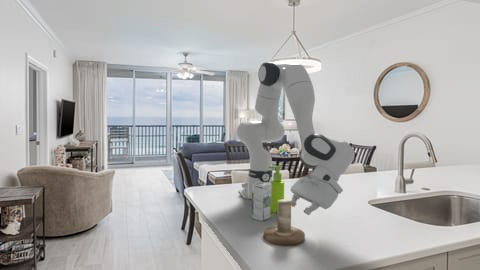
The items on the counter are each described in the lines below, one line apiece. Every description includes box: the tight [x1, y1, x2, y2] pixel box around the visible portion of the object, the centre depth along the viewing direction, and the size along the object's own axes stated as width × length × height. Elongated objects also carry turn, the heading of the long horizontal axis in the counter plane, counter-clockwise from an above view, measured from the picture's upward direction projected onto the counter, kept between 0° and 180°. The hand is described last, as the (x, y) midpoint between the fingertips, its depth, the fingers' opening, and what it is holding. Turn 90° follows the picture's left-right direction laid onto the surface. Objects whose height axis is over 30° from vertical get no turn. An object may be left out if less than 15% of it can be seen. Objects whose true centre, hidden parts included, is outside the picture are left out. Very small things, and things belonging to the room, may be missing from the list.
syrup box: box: [251, 182, 272, 222], centre depth 122 cm, size 6×6×14 cm
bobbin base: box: [263, 225, 306, 247], centre depth 104 cm, size 14×14×2 cm
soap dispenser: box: [269, 165, 285, 214], centre depth 131 cm, size 6×7×20 cm
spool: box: [275, 198, 293, 237], centre depth 103 cm, size 6×6×11 cm
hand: (298, 209), depth 105 cm, fingers open, 8 cm apart
